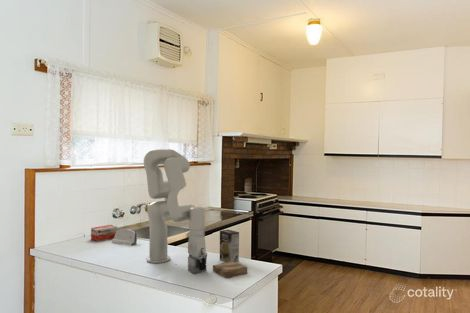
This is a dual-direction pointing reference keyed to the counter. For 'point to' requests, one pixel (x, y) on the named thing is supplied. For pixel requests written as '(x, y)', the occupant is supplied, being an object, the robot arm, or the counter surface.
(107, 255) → the counter surface
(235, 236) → the coffee box
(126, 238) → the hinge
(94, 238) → the medicine box
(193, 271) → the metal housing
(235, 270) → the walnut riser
